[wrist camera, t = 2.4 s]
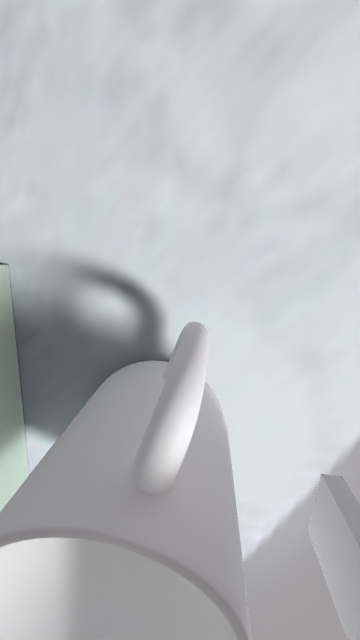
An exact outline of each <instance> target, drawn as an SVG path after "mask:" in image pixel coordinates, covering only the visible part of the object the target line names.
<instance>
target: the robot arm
mask: <svg viewBox="0 0 360 640" xmlns="http://www.w3.org/2000/svg"><path fill="white" fill-rule="evenodd" d="M308 533H309V536H310V538H311V541H312V544H313V547H314V549H315V552H316V555H317V557H318V560H319V563H320V566H321V568H322V571H323V573H324V576H325V579H326V582H327V585H328V587H329V590H330V593H331V595H332V598H333V601H334V604H335V606H336V609H337V612H338V615H339V617H340V620H341V623H342V626H343V628H344V631H345V634H346V636H347V639H348V640H360V504H359V503H358V501H357V499H356V498H355V496H354V494H353V493H352V491H351V490H350V488H349V486H348V485H347V483H346V481H345V480H344V478H343V477H341V476H334V475H326V474H321V477H320V481H319V486H318V490H317V495H316V499H315V503H314V507H313V511H312V516H311V521H310V524H309V529H308Z"/></svg>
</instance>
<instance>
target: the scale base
mask: <svg viewBox="0 0 360 640" xmlns="http://www.w3.org/2000/svg"><path fill="white" fill-rule="evenodd" d="M28 476H29V465H28V455H27V445H26V435H25V425H24V415H23V405H22V395H21V385H20V375H19V365H18V355H17V345H16V335H15V325H14V315H13V305H12V295H11V286H10V276H9V266H8V265H5V264H0V512H1V510H2V509H3V508H4V506H5V505H6V504H7V503H8V501H9V500H10V499H11V498H12V496H13V495H14V494H15V493H16V491H17V490H18V489H19V487H20V486H21V485H22V484H23V482H24V481H25V480H26V479H27V477H28Z"/></svg>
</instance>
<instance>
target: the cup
mask: <svg viewBox="0 0 360 640" xmlns="http://www.w3.org/2000/svg"><path fill="white" fill-rule="evenodd" d="M208 357H209V334H208V330H207V329H206V327H205V326H204V325H203V324H201V323H199V322H191V323H188V324H187V325H186V326H185V327H184V328H183V330H182V332H181V334H180V336H179V338H178V340H177V343H176V345H175V348H174V350H173V352H172V355H171V357H170V360H169V362H166V361H154V360H152V361H142V362H137V363H133V364H130V365H127V366H125V367H123V368H121V369H119V370H118V371H116V372H115V373H113V374H112V375H111V376H110V377H108V378H107V379H106V380H105V381H104V382H103V383H102V384H101V385H100V386H99V388H98V389H97V390H96V391H95V392H94V394H93V395H92V396H91V398H90V399H89V400H88V401H87V403H86V404H85V405H84V406H83V408H82V409H81V410H80V411H79V413H78V414H77V415H76V417H75V418H74V419H73V420H72V422H71V423H70V424H69V425H68V427H67V428H66V429H65V430H64V432H63V433H62V434H61V436H60V437H59V438H58V439H57V441H56V442H55V443H54V444H53V446H52V447H51V448H50V449H49V451H48V452H47V453H46V455H45V456H44V457H43V458H42V460H41V461H40V462H39V463H38V465H37V466H36V467H35V468H34V470H33V471H32V472H31V474H30V475H29V476H28V477H27V479H26V480H25V481H24V482H23V484H22V485H21V486H20V487H19V489H18V490H17V491H16V493H15V494H14V495H13V496H12V498H11V499H10V500H9V501H8V503H7V504H6V505H5V506H4V508H3V509H2V510H1V512H0V640H252V639H251V630H250V622H249V613H248V604H247V596H246V587H245V578H244V569H243V560H242V552H241V543H240V534H239V525H238V517H237V508H236V499H235V491H234V482H233V473H232V464H231V456H230V447H229V438H228V430H227V423H226V418H225V414H224V411H223V408H222V405H221V403H220V400H219V398H218V397H217V395H216V393H215V392H214V390H213V389H212V388H211V387H210V386H209V384H208V383H207V382H206V381H205V380H206V373H207V366H208Z"/></svg>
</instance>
